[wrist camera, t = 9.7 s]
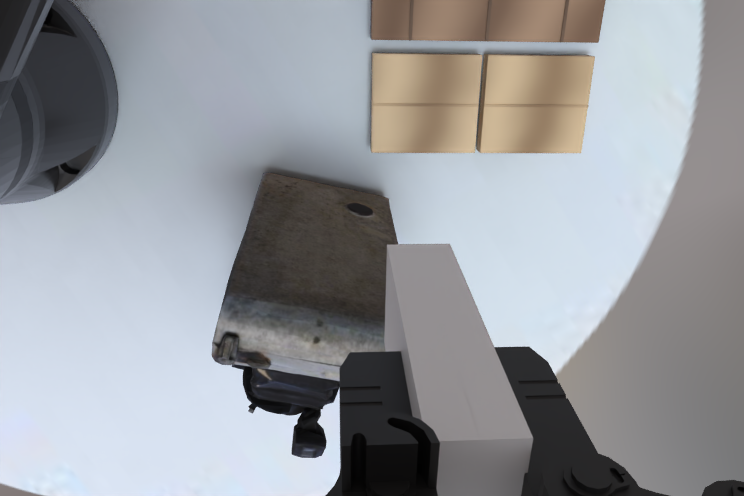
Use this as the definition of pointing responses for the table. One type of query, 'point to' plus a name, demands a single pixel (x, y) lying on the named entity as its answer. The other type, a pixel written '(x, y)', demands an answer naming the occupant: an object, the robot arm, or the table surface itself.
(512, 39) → the walnut row
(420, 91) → the oak plank
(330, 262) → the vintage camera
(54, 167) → the robot arm
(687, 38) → the table surface
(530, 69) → the oak plank
